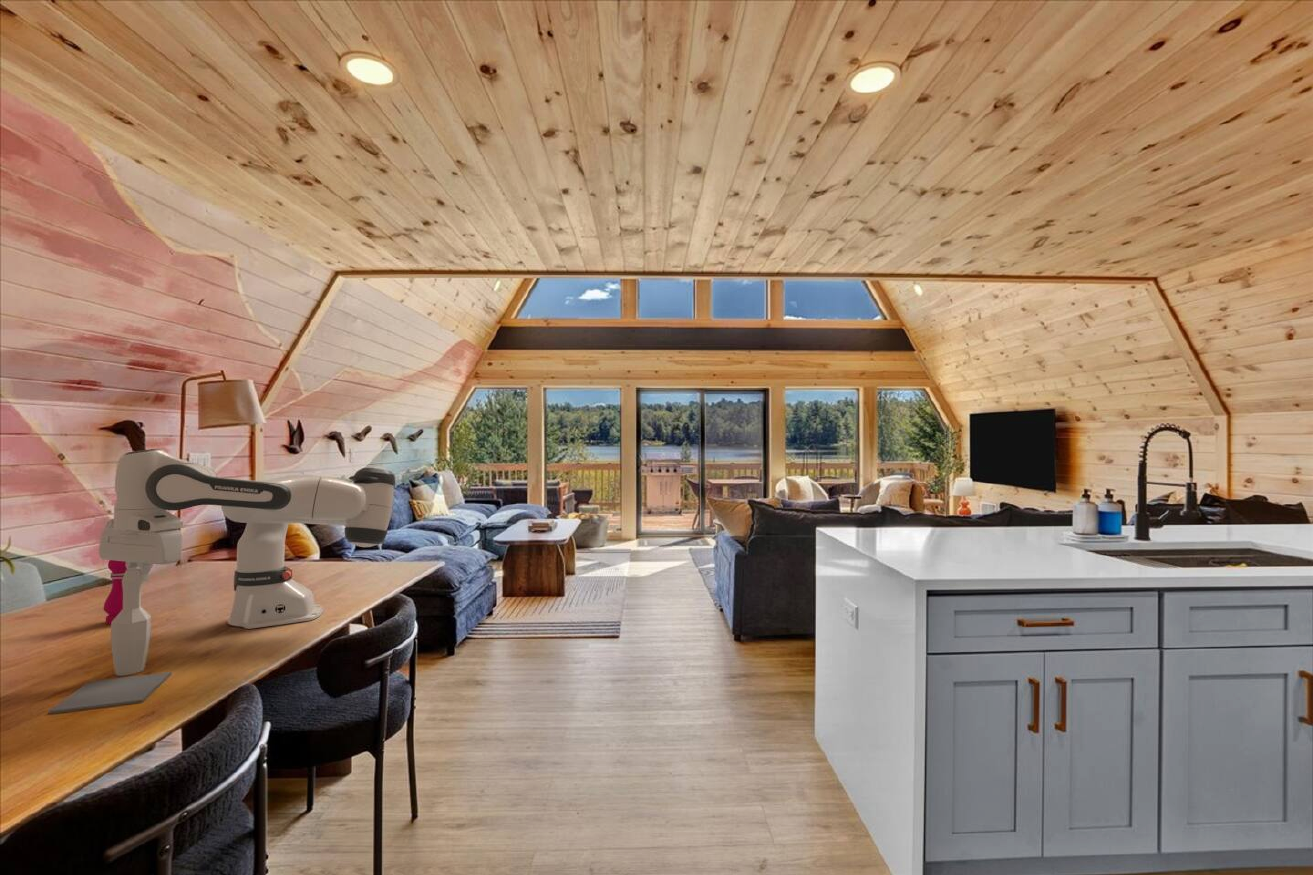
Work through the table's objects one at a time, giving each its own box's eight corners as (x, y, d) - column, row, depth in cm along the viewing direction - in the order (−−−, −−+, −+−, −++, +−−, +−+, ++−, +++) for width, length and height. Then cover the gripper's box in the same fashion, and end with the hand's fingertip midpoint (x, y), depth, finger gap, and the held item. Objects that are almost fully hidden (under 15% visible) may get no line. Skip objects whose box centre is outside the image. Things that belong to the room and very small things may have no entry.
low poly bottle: (148, 663, 128) (151, 565, 128) (150, 671, 123) (153, 570, 123) (109, 670, 123) (112, 569, 123) (109, 679, 119) (113, 574, 119)
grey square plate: (171, 674, 122) (171, 671, 122) (142, 702, 109) (142, 699, 109) (89, 683, 117) (89, 681, 117) (48, 713, 104) (48, 711, 104)
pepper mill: (108, 627, 151) (110, 551, 151) (99, 622, 155) (101, 548, 155) (143, 620, 157) (145, 548, 157) (133, 615, 161) (135, 545, 161)
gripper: (90, 519, 128) (88, 581, 128) (159, 524, 123) (157, 588, 123) (122, 516, 134) (120, 574, 134) (189, 520, 129) (187, 581, 129)
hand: (138, 581), depth 129 cm, fingers closed
